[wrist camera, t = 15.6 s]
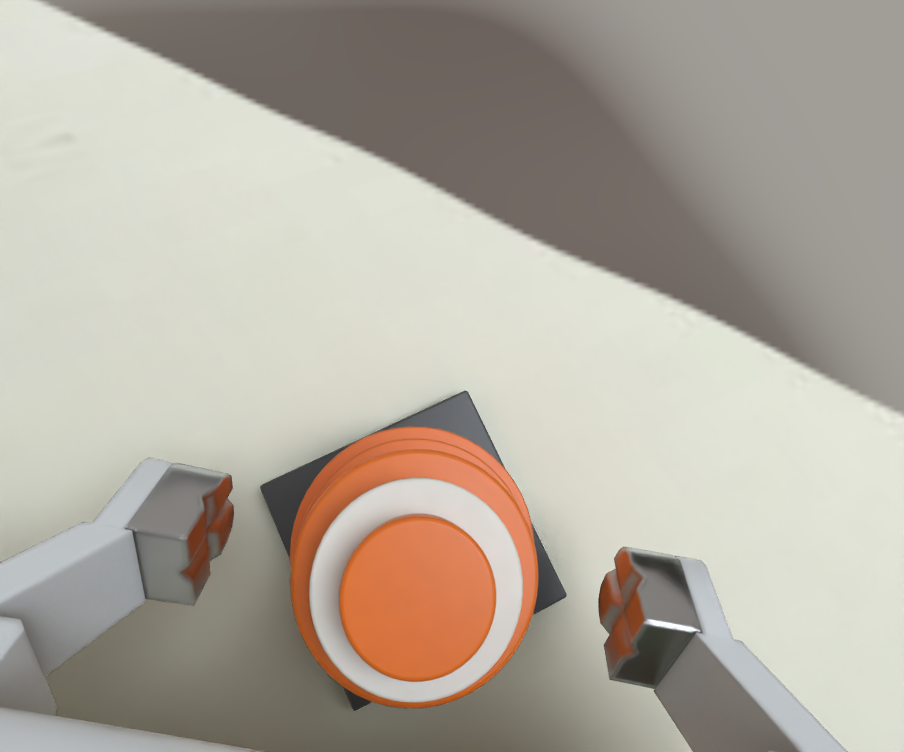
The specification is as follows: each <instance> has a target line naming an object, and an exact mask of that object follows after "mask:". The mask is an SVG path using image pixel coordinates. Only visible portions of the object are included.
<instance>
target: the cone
mask: <svg viewBox="0 0 904 752" xmlns="http://www.w3.org/2000/svg"><path fill="white" fill-rule="evenodd" d="M260 489H261V491H262V493H263V496H264V498H265V501H266V503H267V505H268V508H269V510H270V513H271V515H272V517H273V520H274V522H275V525H276V527H277V529H278V532H279V534H280V537H281V539H282V541H283V544H284V546H285V549H286V551H287V553H288V556H289V558H290V565H291V578H290V585H291V600H292V605H293V610H294V615H295V618H296V621H297V624H298V627H299V630H300V633H301V635H302V637H303V639H304V641H305V643H306V645H307V647H308V649H309V650H310V652H311V653H312V655H313V656H314V658H315V659H316V661H317V662H318V663H319V665H320V666H321V667H322V668H323V669H324V670H325V671H326V672H327V673H328V675H329V676H331V677H332V678H333V679H334V680H335V681H337V682H338V683H339V684H340V685H341V686H343V687H344V690H345V692H346V695H347V697H348V699H349V702H350V704H351V707H352V709H353V710H354V711H356V710H358V709H360V708H362V707H364V706H366V705H367V704H369V703H371V702H374V703H378V704H381V705H385V706H389V707H397V708H405V709H406V708H427V707H433V706H439V705H442V704H445V703H449V702H452V701H455V700H457V699H459V698H461V697H464V696H466V695H468V694H470V693H472V692H473V691H475V690H476V689H478V688H479V687H481V686H482V685H484V684H485V683H487V682H488V681H489V680H490V679H491V678H492V677H494V676H495V675H496V674H497V673H498V672H499V671H500V670H501V669H502V668H503V667H504V665H505V664H506V663H507V662H508V661H509V660H510V658H511V657H512V655H513V654H514V653H515V651H516V650H517V648H518V647H519V645H520V643H521V641H522V639H523V637H524V635H525V633H526V632H527V629H528V626H529V624H530V621H531V618H532V615H534V614H536V613H538V612H539V611H541V610H543V609H545V608H547V607H549V606H551V605H552V604H554V603H556V602H558V601H560V600H562V599H564V598H565V597H566V592H565V590H564V588H563V586H562V584H561V582H560V580H559V578H558V576H557V574H556V572H555V570H554V568H553V566H552V564H551V562H550V560H549V558H548V555H547V553H546V551H545V549H544V547H543V545H542V543H541V541H540V539H539V537H538V535H537V533H536V531H535V529H534V527H533V525H532V523H531V519H530V516H529V512H528V509H527V506H526V504H525V501H524V499H523V496H522V494H521V492H520V490H519V489H518V487H517V485H516V483H515V482H514V480H513V479H512V477H511V476H510V475H509V473H508V472H507V471H506V469H505V467H504V465H503V463H502V461H501V459H500V457H499V455H498V453H497V451H496V449H495V447H494V445H493V443H492V440H491V438H490V436H489V434H488V432H487V430H486V428H485V426H484V424H483V422H482V420H481V418H480V416H479V414H478V412H477V410H476V408H475V406H474V404H473V401H472V399H471V397H470V395H469V393H468V392H467V391H463V392H461V393H459V394H457V395H454V396H452V397H450V398H448V399H446V400H444V401H441V402H439V403H437V404H435V405H433V406H431V407H429V408H426V409H424V410H422V411H420V412H418V413H416V414H413V415H411V416H409V417H407V418H405V419H403V420H401V421H398V422H396V423H394V424H392V425H390V426H388V427H385V428H383V429H381V430H379V431H377V432H375V433H373V434H370V435H368V436H366V437H364V438H362V439H360V440H357V441H355V442H353V443H351V444H349V445H347V446H345V447H342V448H340V449H338V450H336V451H334V452H332V453H329V454H327V455H325V456H323V457H321V458H319V459H316V460H314V461H312V462H310V463H308V464H306V465H304V466H301V467H299V468H297V469H295V470H293V471H291V472H288V473H286V474H284V475H282V476H280V477H278V478H276V479H273V480H271V481H269V482H267V483H265V484H263V485H261V486H260Z"/></svg>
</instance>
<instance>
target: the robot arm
mask: <svg viewBox="0 0 904 752" xmlns="http://www.w3.org/2000/svg"><path fill="white" fill-rule="evenodd" d="M232 489H233V486H232V476H231V475H229V474H227V473H222V472H218V471H213V470H208V469H204V468H199V467H194V466H189V465H185V464H180V463H173V462H168V461H164V460H159V459H154V458H147V459H145V460H144V461H142V462H141V463H140V464H139V465H138V466H137V467H136V469H135V470H134V471H133V472H132V474H131V475H130V476H129V477H128V479H127V480H126V481H125V482H124V484H123V485H122V486H121V487H120V489H119V490H118V491H117V492H116V494H115V495H114V496H113V497H112V498H111V500H110V501H109V502H108V503H107V505H106V506H105V507H104V508H103V510H102V511H101V512H100V513H99V515H98V516H97V517H96V518H95V520H94V521H93V522H92V523H88V522H82V523H80V524H78V525H76V526H74V527H72V528H69V529H67V530H65V531H63V532H61V533H59V534H57V535H55V536H53V537H51V538H49V539H47V540H45V541H43V542H41V543H39V544H37V545H35V546H33V547H31V548H29V549H27V550H24V551H22V552H20V553H18V554H16V555H14V556H12V557H10V558H8V559H6V560H4V561H2V562H0V752H266V751H260V750H254V749H249V748H243V747H237V746H231V745H225V744H219V743H213V742H207V741H201V740H195V739H189V738H183V737H177V736H171V735H166V734H160V733H154V732H148V731H142V730H136V729H130V728H124V727H118V726H112V725H106V724H100V723H94V722H89V721H83V720H77V719H71V718H65V717H59V716H55V714H56V712H57V708H56V703H55V700H54V698H53V696H52V693H51V691H50V688H49V686H48V684H47V681H46V679H45V677H46V676H47V675H49V674H50V673H51V672H53V671H54V670H55V669H57V668H58V667H59V666H61V665H62V664H63V663H65V662H66V661H67V660H69V659H70V658H71V657H73V656H74V655H75V654H77V653H78V652H79V651H81V650H82V649H83V648H85V647H86V646H87V645H89V644H90V643H91V642H93V641H94V640H95V639H97V638H98V637H99V636H101V635H102V634H103V633H105V632H106V631H107V630H109V629H110V628H111V627H113V626H114V625H115V624H117V623H118V622H119V621H121V620H122V619H123V618H125V617H126V616H127V615H129V614H130V613H131V612H133V611H134V610H135V609H137V608H138V607H139V606H141V605H142V604H143V603H145V602H146V600H145V599H151V600H157V601H164V602H171V603H178V604H184V605H191V606H194V605H195V603H196V601H197V599H198V597H199V596H200V594H201V592H202V590H203V588H204V586H205V584H206V582H207V580H208V578H209V576H210V561H211V560H213V559H214V558H216V557H217V556H219V555H221V553H222V551H223V549H224V547H225V545H226V543H227V541H228V538H229V534H230V531H231V528H232V524H233V516H234V506H233V504H232V503H231V502H230V501H229V499H228V496H229V494H230V492H231V491H232ZM614 561H615V566H616V569H614V570H612V571H611V572H609V573H607V574H606V575H605V578H604V580H603V582H602V584H601V588H600V594H599V617H600V623H601V624H602V626H603V627H604V628H605V629H606V631H607V632H608V633H609V637H608V639H607V640H606V642H605V644H604V649H605V655H606V661H607V667H608V673H609V679H610V680H614V681H619V682H624V683H628V684H633V685H638V686H643V687H648V688H653V689H655V690H654V692H655V694H656V695H657V697H658V698H659V700H660V702H661V703H662V705H663V706H664V708H665V709H666V711H667V712H668V714H669V715H670V717H671V718H672V720H673V721H674V723H675V725H676V726H677V728H678V729H679V731H680V732H681V734H682V735H683V737H684V738H685V740H686V741H687V743H688V745H689V746H690V748H691V749H692V751H693V752H847V751H846V750H845V749H844V748H843V747H842V746H841V744H840V743H839V742H838V741H837V740H836V739H835V738H834V737H833V736H832V735H831V734H830V733H829V732H828V731H827V730H826V729H825V728H824V727H823V726H822V725H821V724H820V723H819V722H818V720H817V719H816V718H815V717H814V716H813V715H812V714H811V713H810V712H809V711H808V710H807V709H806V708H805V707H804V706H803V705H802V704H801V703H800V702H799V701H798V700H797V699H796V698H795V697H794V695H793V694H792V693H791V692H790V691H789V690H788V689H787V688H786V687H785V686H784V685H783V684H782V683H781V682H780V681H779V680H778V679H777V678H776V677H775V676H774V675H773V674H772V673H771V671H770V670H769V669H768V668H767V667H766V666H765V665H764V664H763V663H762V662H761V661H760V660H759V659H758V658H757V657H756V656H755V655H754V654H753V653H752V652H751V651H750V650H749V649H748V647H747V646H746V645H745V644H744V643H743V642H742V641H739V640H734V639H733V637H732V634H731V632H730V629H729V626H728V624H727V621H726V618H725V616H724V613H723V610H722V607H721V605H720V602H719V599H718V597H717V594H716V591H715V589H714V586H713V583H712V581H711V578H710V575H709V572H708V570H707V567H706V565H705V564H704V563H703V562H702V561H701V560H697V559H691V558H685V557H680V556H673V555H670V554H664V553H658V552H652V551H647V550H641V549H635V548H629V547H622V548H621V549H620V550H619V551H618V553H617V554H616V556H615V558H614Z"/></svg>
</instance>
